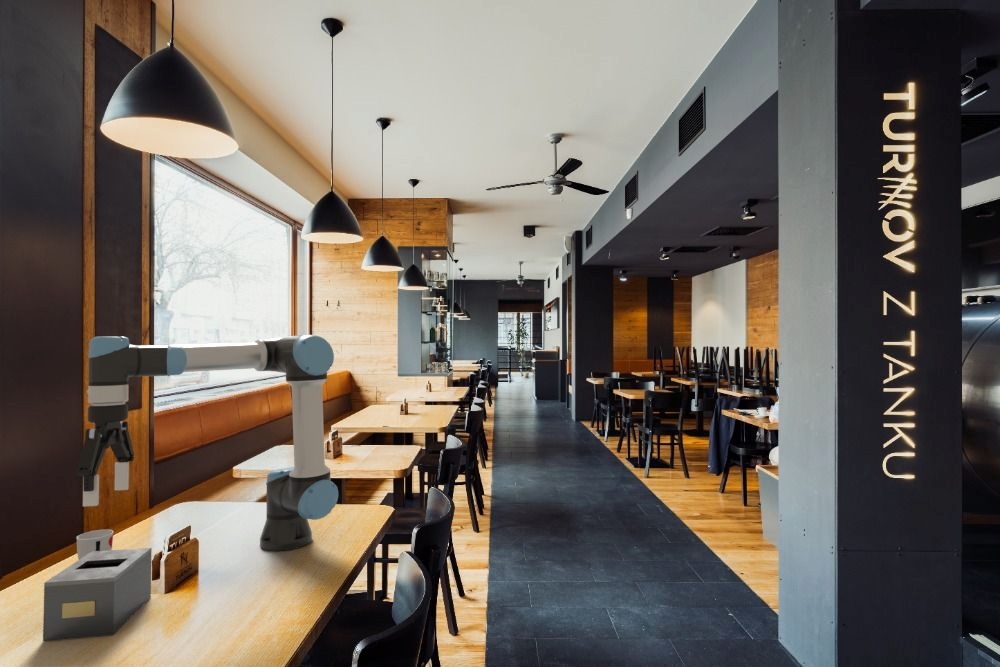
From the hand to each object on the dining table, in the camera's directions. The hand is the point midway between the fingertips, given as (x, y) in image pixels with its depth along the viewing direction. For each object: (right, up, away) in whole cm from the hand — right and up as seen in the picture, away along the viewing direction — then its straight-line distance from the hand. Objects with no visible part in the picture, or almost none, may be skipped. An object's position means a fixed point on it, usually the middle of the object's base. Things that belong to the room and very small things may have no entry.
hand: (107, 497), depth 124 cm
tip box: (0, -27, -2) cm, 27 cm away
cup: (-21, -28, +25) cm, 43 cm away
